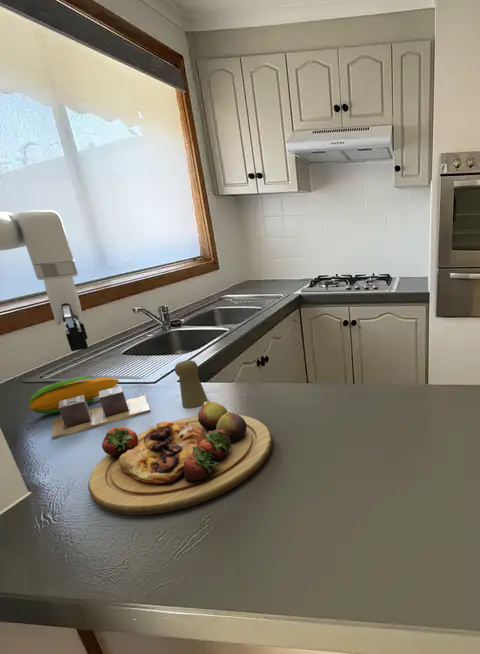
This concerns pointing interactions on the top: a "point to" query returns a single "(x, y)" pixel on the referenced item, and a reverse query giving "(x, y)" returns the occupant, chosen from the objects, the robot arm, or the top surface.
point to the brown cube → (113, 400)
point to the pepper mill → (190, 384)
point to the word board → (101, 417)
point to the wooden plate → (178, 461)
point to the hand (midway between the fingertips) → (80, 344)
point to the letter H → (74, 411)
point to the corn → (68, 392)
